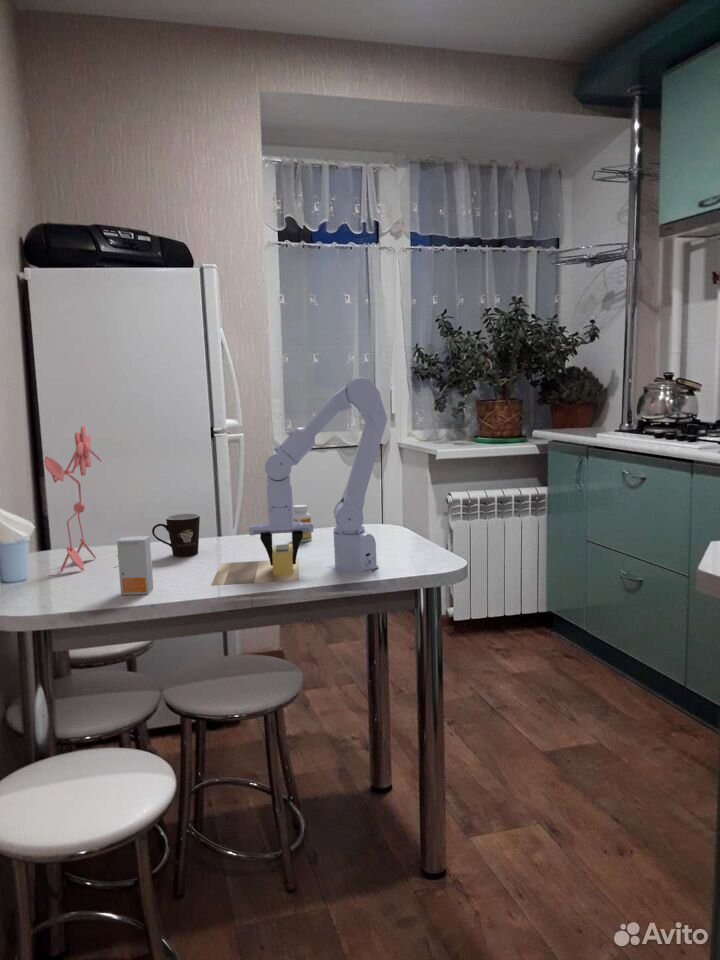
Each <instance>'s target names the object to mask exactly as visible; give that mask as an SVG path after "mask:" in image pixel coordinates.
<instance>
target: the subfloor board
mask: <svg viewBox="0 0 720 960" xmlns="http://www.w3.org/2000/svg"><path fill="white" fill-rule="evenodd" d="M299 576H300V558H296V564H293V574H288V575H273V565H272V566H271V564H270V559H268V560H257V561H256V560H254V561H252V560H250V561H236V562H220V564H219V566H218V567H217V571H216V573H215V575H214V578H213V580H212V582H211V584H210V586H225V585H229V586H230V585H246V584H261V583H279V582H298V581H300V580H299V579H300V577H299Z"/></svg>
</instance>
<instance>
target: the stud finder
mask: <svg viewBox="0 0 720 960" xmlns="http://www.w3.org/2000/svg"><path fill="white" fill-rule="evenodd" d="M272 548H273V552H272V558H273V575H288V574H293V544H292V543H285V544H283V543H281V544H274V545H272Z"/></svg>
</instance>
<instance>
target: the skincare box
mask: <svg viewBox="0 0 720 960" xmlns="http://www.w3.org/2000/svg"><path fill="white" fill-rule="evenodd" d="M116 544H117V545H116V547H117V555H118V556H117V558H118V559H117V560H118V572H119V575H118V576H119V587H120V595H121V596H125V595H126V596H127V595H133V596H134V595H149V594H150V593H151V592H152V591H153V590H154V580H153V569H152V568H153V565H152V552H151V537H150V535H137V536H136V535H135V536H122V537H120V538H119V539H117V541H116Z"/></svg>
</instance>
